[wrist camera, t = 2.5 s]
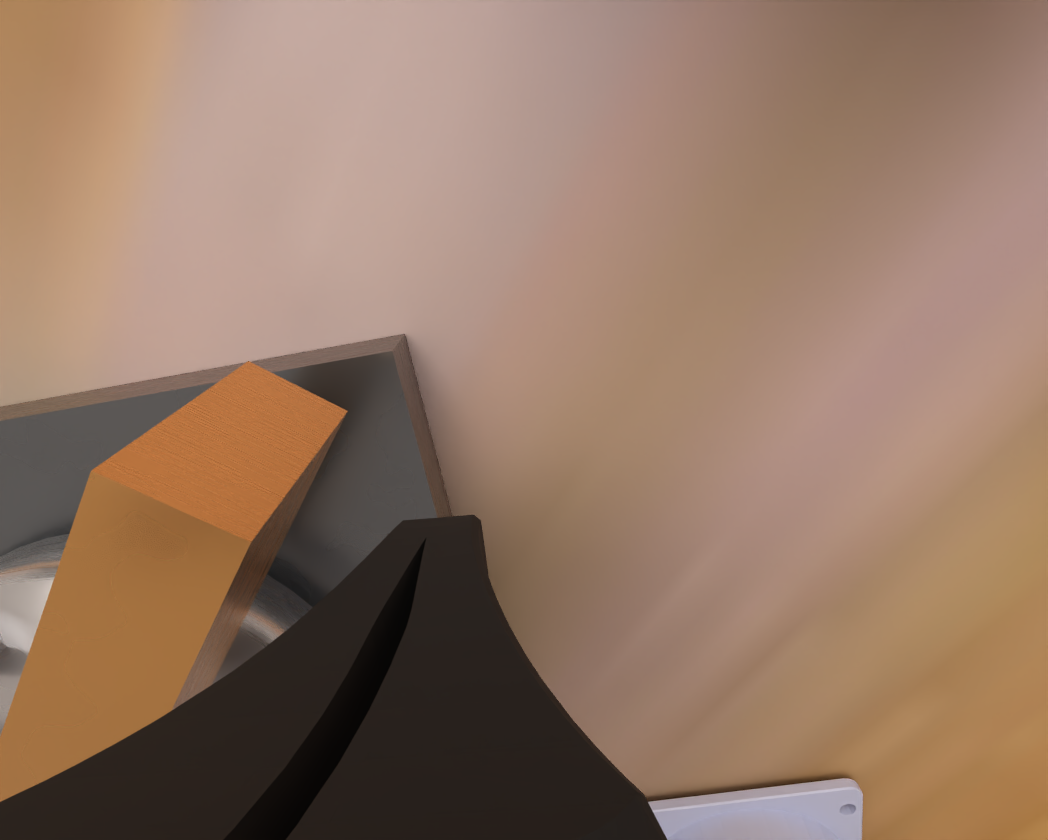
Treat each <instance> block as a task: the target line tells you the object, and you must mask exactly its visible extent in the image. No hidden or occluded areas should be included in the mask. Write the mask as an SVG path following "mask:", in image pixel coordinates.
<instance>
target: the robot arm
mask: <svg viewBox="0 0 1048 840" xmlns="http://www.w3.org/2000/svg"><path fill="white" fill-rule="evenodd" d="M862 816H863V794H862V791H861V789H860V787H859V785H858V783H856V782H855V781H854V780H852V779H848V778H841V779H832V780H824V781H816V782H807V783H799V784H791V785H782V786H774V787H766V788H758V789H749V790H741V791H733V792H724V793H716V794H708V795H699V796H691V797H683V798H674V799H666V800H658V801H649V802H648V801H647V799H646V797H645V796H644V794H643V793H642V792H641V791H640V790H639V789H638V788H637V787H636V786H635V785H634V784H632V783H631V782H630V781H629V780H628V779H627V778H626V777H625V776H624V775H623V774H622V773H621V772H620V771H619V770H618V769H617V768H616V767H615V766H614V765H613V764H612V763H611V762H610V761H609V760H608V759H607V758H606V756H605V755H604V754H603V753H602V752H601V751H600V750H599V749H598V748H597V747H596V746H595V745H594V744H593V742H592V741H591V740H590V739H589V738H588V737H587V736H586V735H585V733H584V732H583V731H582V730H581V729H580V728H579V727H578V725H577V724H576V723H575V722H574V721H573V720H572V718H571V717H570V716H569V714H568V713H567V712H566V710H565V709H564V708H563V707H562V705H561V704H560V703H559V701H558V700H557V699H556V697H555V696H554V695H553V693H552V692H551V691H550V689H549V688H548V687H547V686H546V684H545V683H544V682H543V680H542V679H541V677H540V676H539V674H538V673H537V671H536V670H535V668H534V667H533V665H532V664H531V662H530V661H529V659H528V657H527V656H526V654H525V653H524V651H523V649H522V647H521V646H520V644H519V642H518V641H517V639H516V637H515V635H514V633H513V632H512V630H511V628H510V626H509V624H508V622H507V620H506V618H505V616H504V614H503V611H502V609H501V607H500V605H499V603H498V601H497V598H496V596H495V593H494V591H493V588H492V586H491V583H490V580H489V576H488V569H487V562H486V554H485V547H484V540H483V532H482V525H481V520H480V519H478V518H477V517H476V516H474V515H466V516H453V517H440V518H427V519H414V520H403V521H402V522H401V523H399V524H398V525H397V526H396V527H395V528H394V529H393V530H392V531H391V532H390V533H389V534H388V535H387V536H386V537H385V538H384V539H383V540H382V541H381V542H380V543H379V544H378V545H377V546H376V548H375V549H374V550H373V551H372V552H371V553H370V554H369V555H368V556H367V557H366V558H365V559H364V560H363V561H362V562H361V563H360V564H359V565H358V566H357V567H356V568H355V569H354V570H352V571H351V572H350V573H349V574H348V575H347V576H346V577H345V578H344V579H343V580H342V581H341V582H340V583H339V584H338V585H337V586H336V587H335V588H334V589H333V590H332V591H331V592H329V593H328V594H327V595H326V596H325V597H324V598H323V599H322V600H320V601H319V602H318V603H317V604H316V605H315V606H314V607H313V608H311V609H310V610H309V611H308V612H307V613H306V614H305V615H304V616H302V617H301V618H300V619H299V620H298V621H297V622H296V623H295V624H293V625H292V626H291V627H290V628H289V629H287V630H286V631H285V632H284V633H282V634H281V635H280V636H279V637H277V638H276V639H275V640H274V641H272V642H271V643H270V644H268V645H267V646H266V647H265V648H263V649H262V650H260V651H259V652H258V653H256V654H255V655H254V656H252V657H251V658H250V659H248V660H247V661H246V662H244V663H243V664H242V665H240V666H239V667H237V668H236V669H235V670H233V671H232V672H230V673H229V674H227V675H226V676H225V677H223V678H222V679H220V680H218V681H217V682H215V683H214V684H212V685H211V686H209V687H208V688H206V689H204V690H203V691H201V692H200V693H198V694H197V695H195V696H194V697H192V698H190V699H189V700H187V701H186V702H184V703H183V704H181V705H179V706H178V707H176V708H175V709H173V710H172V711H170V712H169V713H167V714H165V715H164V716H162V717H161V718H159V719H157V720H156V721H154V722H152V723H151V724H149V725H147V726H145V727H144V728H142V729H140V730H138V731H137V732H135V733H133V734H131V735H130V736H128V737H126V738H124V739H123V740H121V741H119V742H117V743H116V744H114V745H112V746H110V747H108V748H106V749H104V750H103V751H101V752H99V753H97V754H95V755H93V756H91V757H90V758H88V759H86V760H84V761H82V762H80V763H78V764H76V765H75V766H73V767H71V768H69V769H67V770H65V771H63V772H61V773H59V774H57V775H55V776H53V777H51V778H49V779H47V780H45V781H43V782H41V783H39V784H37V785H35V786H33V787H30V788H28V789H26V790H24V791H22V792H20V793H18V794H16V795H14V796H11V797H9V798H7V799H5V800H3V801H1V802H0V840H862Z"/></svg>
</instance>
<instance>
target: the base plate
mask: <svg viewBox="0 0 1048 840" xmlns="http://www.w3.org/2000/svg"><path fill="white" fill-rule="evenodd" d="M251 363H253V364H255V365H257V366H259V367H261V368H263V369H265V370H267V371H269V372H271V373H273V374H275V375H277V376H279V377H281V378H283V379H285V380H287V381H289V382H291V383H293V384H295V385H297V386H299V387H301V388H303V389H305V390H307V391H309V392H311V393H313V394H315V395H317V396H319V397H321V398H323V399H325V400H327V401H329V402H331V403H333V404H335V405H337V406H339V407H341V408H343V409H345V410H347V411H348V412H347V414H346V416H345V418H344V420H343V422H342V424H341V426H340V428H339V430H338V432H337V434H336V436H335V438H334V440H333V442H332V444H331V446H330V448H329V450H328V452H327V454H326V456H325V458H324V460H323V462H322V464H321V466H320V468H319V470H318V472H317V474H316V476H315V478H314V480H313V482H312V484H311V486H310V488H309V490H308V492H307V494H306V496H305V498H304V500H303V502H302V504H301V506H300V508H299V510H298V512H297V514H296V516H295V518H294V520H293V522H292V524H291V526H290V528H289V530H288V532H287V535H286V537H285V539H284V541H283V543H282V545H281V547H280V549H279V551H278V553H277V555H276V557H275V559H274V561H273V563H272V565H271V567H270V569H269V571H268V573H267V575H269V576H271V577H272V578H274V579H275V580H277V581H278V582H280V583H282V584H283V585H285V586H286V587H288V588H289V589H291V590H292V591H293V592H295V593H296V594H297V595H298V596H300V597H301V598H302V599H303V600H305V601H306V602H307V603H308V604H309V605H311V606H312V607H314V606H315V605H316V604H317V603H318V602H319V601H320V600H322V599H323V598H324V597H325V596H326V595H327V594H328V593H329V592H331V591H332V590H333V589H334V588H335V587H336V586H337V585H338V584H339V583H340V582H341V581H342V580H343V579H344V578H345V577H346V576H347V575H348V574H349V573H350V572H351V571H352V570H354V569H355V568H356V567H357V566H358V565H359V564H360V563H361V562H362V561H363V560H364V559H365V558H366V557H367V556H368V555H369V554H370V553H371V552H372V551H373V550H374V549H375V548H376V546H377V545H378V544H379V543H380V542H381V541H382V540H383V539H384V538H385V537H386V536H387V535H388V534H389V533H390V532H391V531H392V530H393V529H394V528H395V527H396V526H397V525H398V524H399V523H401V522H402V521H403V520H414V519H427V518H440V517H452V514H451V510H450V506H449V503H448V499H447V495H446V491H445V487H444V483H443V479H442V476H441V472H440V468H439V464H438V460H437V456H436V453H435V449H434V445H433V441H432V437H431V433H430V430H429V426H428V422H427V418H426V414H425V410H424V406H423V403H422V399H421V395H420V391H419V387H418V383H417V380H416V376H415V372H414V368H413V364H412V360H411V357H410V353H409V349H408V345H407V341H406V337H405V334H402V335H397V336H391V337H386V338H380V339H375V340H369V341H363V342H358V343H352V344H347V345H341V346H336V347H330V348H325V349H319V350H314V351H308V352H302V353H297V354H291V355H286V356H280V357H275V358H269V359H264V360H258V361H253V362H251ZM243 364H245V363H241V364H236V365H230V366H225V367H219V368H214V369H208V370H203V371H197V372H192V373H186V374H180V375H175V376H169V377H164V378H158V379H153V380H147V381H142V382H136V383H131V384H125V385H119V386H114V387H108V388H103V389H97V390H92V391H86V392H81V393H75V394H70V395H64V396H58V397H53V398H47V399H42V400H36V401H31V402H25V403H20V404H14V405H9V406H3V407H0V557H1V556H3V555H5V554H7V553H9V552H11V551H13V550H15V549H17V548H19V547H21V546H24V545H27V544H30V543H33V542H36V541H39V540H42V539H46V538H50V537H55V536H61V535H66V534H70V531H71V528H72V525H73V522H74V519H75V516H76V513H77V510H78V507H79V504H80V501H81V499H82V496H83V493H84V490H85V487H86V484H87V481H88V478H89V475H90V472H91V470H93V469H94V468H96V467H97V466H98V465H100V464H101V463H103V462H104V461H106V460H107V459H109V458H110V457H111V456H113V455H114V454H116V453H117V452H119V451H120V450H121V449H123V448H124V447H126V446H127V445H129V444H130V443H131V442H133V441H134V440H136V439H137V438H139V437H140V436H142V435H143V434H144V433H146V432H147V431H149V430H150V429H152V428H153V427H154V426H156V425H157V424H159V423H160V422H162V421H163V420H164V419H166V418H167V417H169V416H170V415H172V414H173V413H175V412H176V411H177V410H179V409H180V408H182V407H183V406H185V405H186V404H187V403H189V402H190V401H192V400H193V399H195V398H196V397H197V396H199V395H200V394H202V393H203V392H205V391H206V390H208V389H209V388H210V387H212V386H213V385H215V384H216V383H218V382H219V381H220V380H222V379H223V378H225V377H226V376H228V375H229V374H231V373H232V372H233V371H235V370H236V369H238V368H239V367H241V366H242V365H243Z"/></svg>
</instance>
